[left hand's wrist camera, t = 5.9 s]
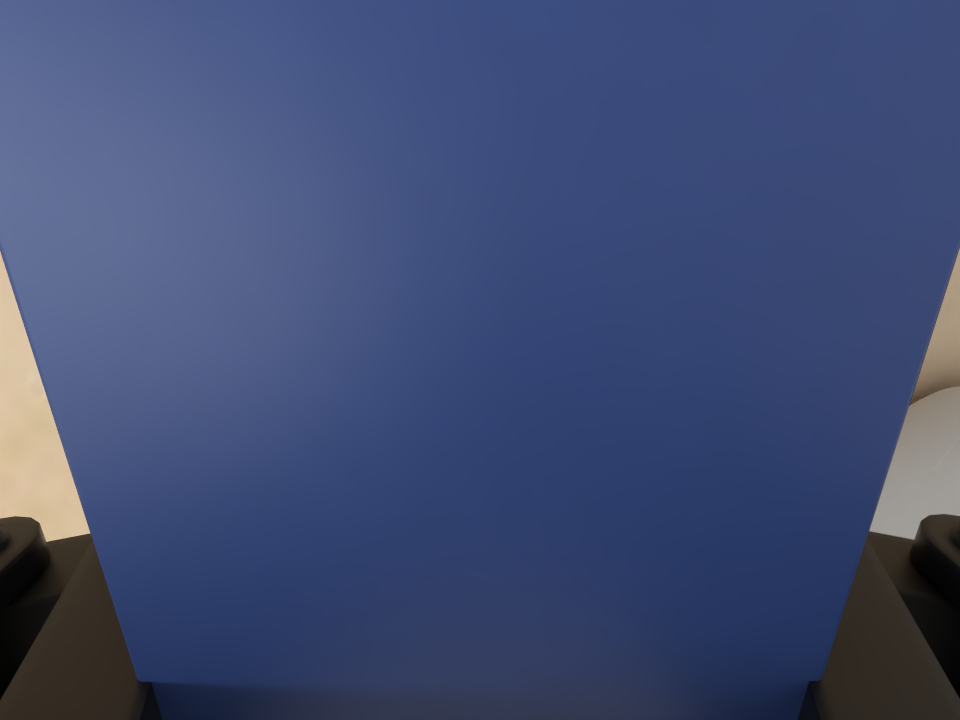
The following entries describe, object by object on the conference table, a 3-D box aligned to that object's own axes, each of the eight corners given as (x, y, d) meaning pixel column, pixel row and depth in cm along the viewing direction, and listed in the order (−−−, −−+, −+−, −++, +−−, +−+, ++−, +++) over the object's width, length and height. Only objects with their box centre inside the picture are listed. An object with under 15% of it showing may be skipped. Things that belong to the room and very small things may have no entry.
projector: (1018, 667, 32) (1431, 1045, 18) (656, 741, 34) (775, 1125, 20) (1041, 347, 24) (1767, 571, 11) (578, 470, 27) (681, 783, 13)
